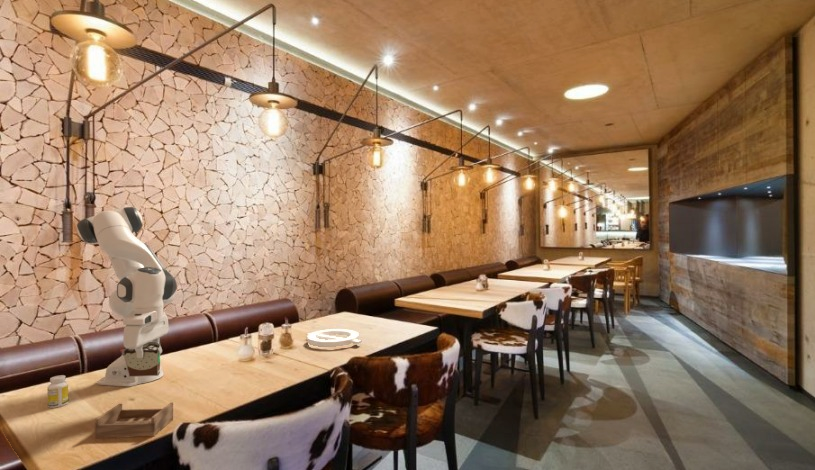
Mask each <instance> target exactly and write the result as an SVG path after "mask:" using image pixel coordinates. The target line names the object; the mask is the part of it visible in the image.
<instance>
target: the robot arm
mask: <svg viewBox="0 0 815 470" xmlns="http://www.w3.org/2000/svg"><path fill="white" fill-rule="evenodd" d="M143 220H144V219H143V215H142V214H141V213H140V211H138V209H136V208H135V207H134V206H127V207H125V206H124V207H123V208H117V209H112V210H104V211H100V212H99V213H97V214H96V215H93V216H90V217H85V218H83V219H80V220H79V221H78V222H77V224H76V232H77V235H78V237H79V238H80V239H81V240H83V241H84V242H85V243H87V244H91V245H92V244H98V246H99V248H100V249H101V251H102V252H103V253H104V254H106V255H107V256H108V258H109V262H110V264H111V266H112V268H113V271H114V273H115V275H116V277H117V279H118V280H119V281H118V283H117V284H116V289H115V290H114V291H113V292H112V293H110V295H109V298H108V305H109V308H110V309H111V311H112V312H113V313H115V314H116V315H118V316H120V318H121V319H122V320H123V322H122V323H123V325H124V328H123V342H122V343H123V347H122V348H120V349H119V350H120V351H119V352H120V353H122V351H123V349H125V348H126V349H135V351H136V353H137V358H142V357H144V356H145V352H143V349H142V348H143V345H144V344H146V343H148V342H156V343H159V344H160V346H161V341H160V339H161V337H163V336H165V335H167V334H168V332H169V318H168V315H166V314H167V313H166V311H165V310H164V307H165V306H167V305H171V303H173V301H174V300H175V296H176V295H175V294H176V291H177V289H178V283H177V281H176V278H175V277H174V276H173V275H172V273H170V272H169V271H168V270H167V269H166V267H165V266H164V265H163V264H162V262H161V260H159V258H158V256H157V255H156V254H155V253H154V250H152V248H151V247H150V246H149V245H148V244H146V243H145V242H142V241H141V240H140V239H139V238H137V237H136V236H138V232H140V231H141V230H142V227H143V225H144V224H143V223H144V222H143ZM134 234H135V235H134ZM161 347H162V346H161ZM161 363H162V361H160V373H159V375H158V376H138V377H129V374H128V370H127V366H126V362H125V358H124V355H122V354H121V356H120V357H118V358H116V359H115V360H114V361H113V362H111V364H109V365H108V366H107V368H106V370H105V372H104V373H105V374H104V376H103V377H101V378H100V379H99V380H98V381H97V385H98V386H115V387H133V386H137V385H139V384H145V383H150V382H153V381H157V380H158V379H161V378H163V377H164V371H163V367H162V364H161Z"/></svg>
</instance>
